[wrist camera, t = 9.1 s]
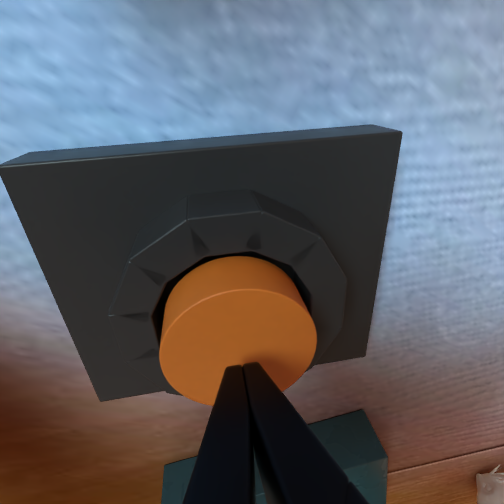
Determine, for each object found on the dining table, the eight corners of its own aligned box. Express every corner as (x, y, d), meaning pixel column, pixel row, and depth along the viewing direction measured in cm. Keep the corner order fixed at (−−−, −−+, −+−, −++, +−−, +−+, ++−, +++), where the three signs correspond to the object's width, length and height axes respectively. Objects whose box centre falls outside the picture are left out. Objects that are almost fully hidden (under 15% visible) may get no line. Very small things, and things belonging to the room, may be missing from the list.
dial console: (206, 531, 24) (207, 588, 22) (163, 465, 19) (158, 527, 17) (365, 485, 25) (386, 534, 22) (363, 408, 20) (390, 460, 17)
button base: (110, 365, 15) (85, 450, 12) (28, 151, 10) (-57, 186, 7) (347, 328, 16) (388, 393, 13) (372, 124, 12) (448, 140, 8)
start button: (177, 372, 11) (174, 418, 10) (151, 265, 9) (142, 302, 7) (298, 352, 12) (314, 393, 10) (300, 246, 9) (321, 278, 8)
